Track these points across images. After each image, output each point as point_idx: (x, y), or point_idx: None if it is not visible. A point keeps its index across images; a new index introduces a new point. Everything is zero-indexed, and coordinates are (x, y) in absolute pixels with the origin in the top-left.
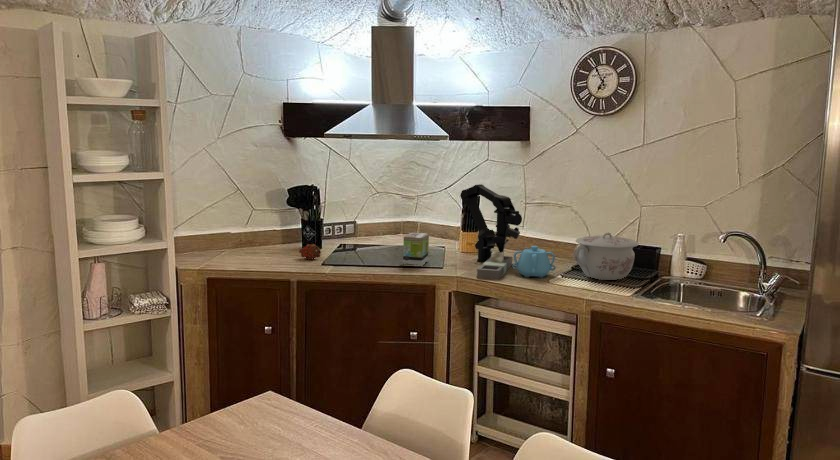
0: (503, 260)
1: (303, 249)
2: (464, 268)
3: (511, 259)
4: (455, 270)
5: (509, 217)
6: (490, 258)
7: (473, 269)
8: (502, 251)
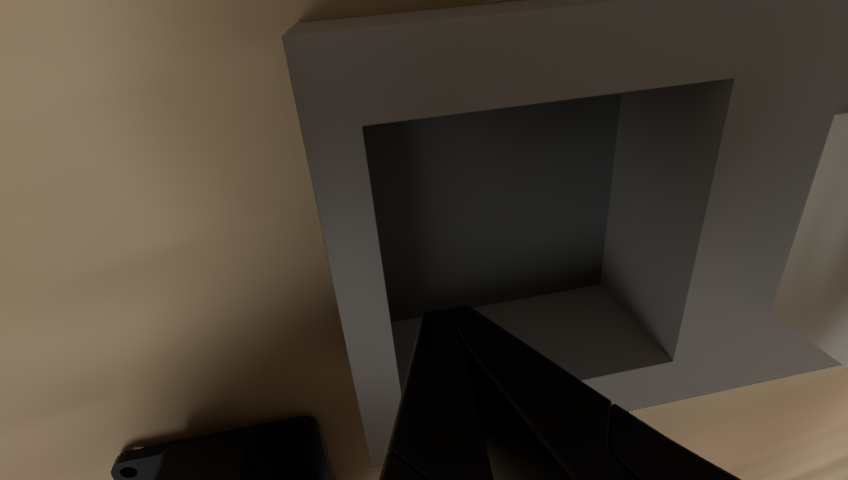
0: (840, 113)
1: None
2: (739, 457)
3: (440, 17)
4: (827, 471)
5: None
6: (668, 385)
7: (778, 382)
8: (523, 353)
